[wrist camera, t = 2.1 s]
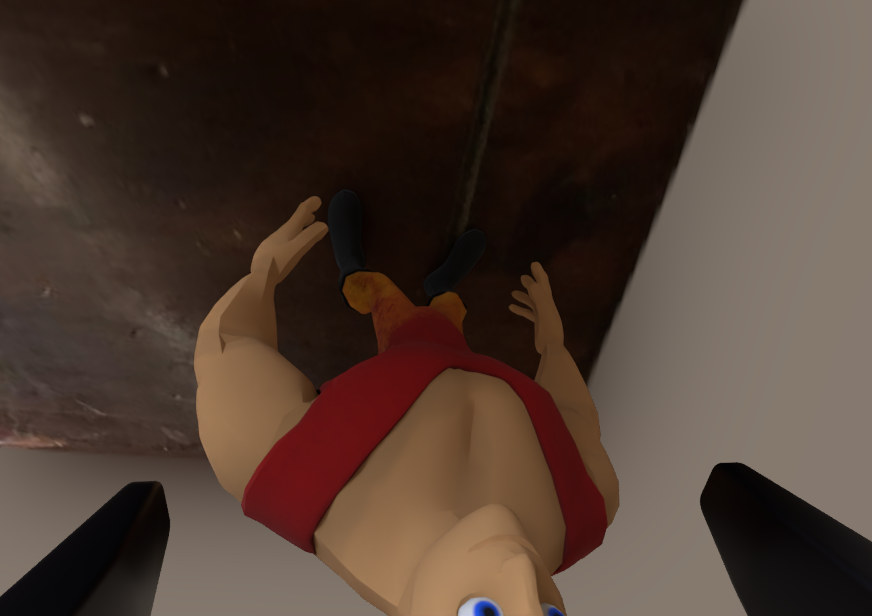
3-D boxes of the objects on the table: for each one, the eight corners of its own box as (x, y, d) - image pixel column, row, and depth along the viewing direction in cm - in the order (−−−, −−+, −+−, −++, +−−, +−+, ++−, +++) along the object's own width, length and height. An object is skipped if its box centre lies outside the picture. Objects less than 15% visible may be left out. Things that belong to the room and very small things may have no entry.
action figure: (550, 235, 18) (1042, 794, 5) (509, 323, 20) (810, 926, 7) (268, 147, 16) (-159, 817, 3) (245, 255, 17) (-99, 1026, 4)
